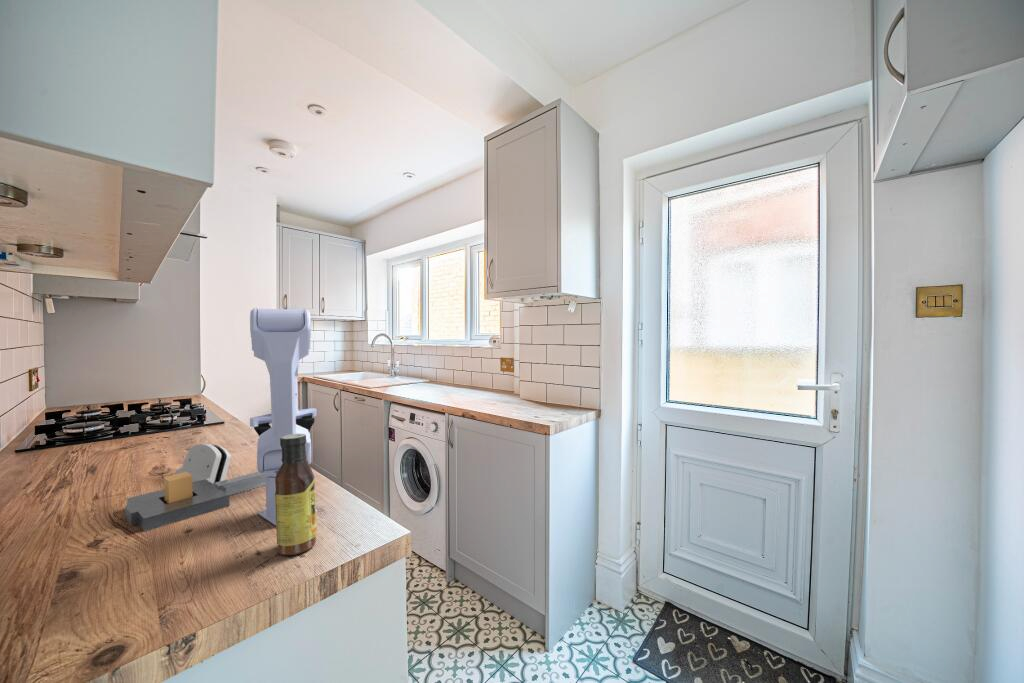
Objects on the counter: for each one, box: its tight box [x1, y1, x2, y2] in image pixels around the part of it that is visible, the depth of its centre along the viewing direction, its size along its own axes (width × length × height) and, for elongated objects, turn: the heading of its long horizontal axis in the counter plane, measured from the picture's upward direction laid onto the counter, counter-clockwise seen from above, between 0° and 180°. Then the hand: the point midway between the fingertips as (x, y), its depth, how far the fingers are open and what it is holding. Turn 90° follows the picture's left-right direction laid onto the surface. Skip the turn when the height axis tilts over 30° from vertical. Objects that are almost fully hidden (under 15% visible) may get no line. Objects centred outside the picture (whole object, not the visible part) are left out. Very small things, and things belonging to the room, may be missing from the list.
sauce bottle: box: [275, 434, 318, 556], centre depth 70 cm, size 7×6×20 cm
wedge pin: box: [163, 472, 193, 504], centre depth 87 cm, size 4×4×7 cm
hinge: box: [173, 443, 232, 484], centre depth 105 cm, size 17×5×10 cm, turn 60°
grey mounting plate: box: [124, 471, 266, 532], centre depth 91 cm, size 16×27×3 cm, turn 143°
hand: (285, 450), depth 97 cm, fingers open, 7 cm apart
